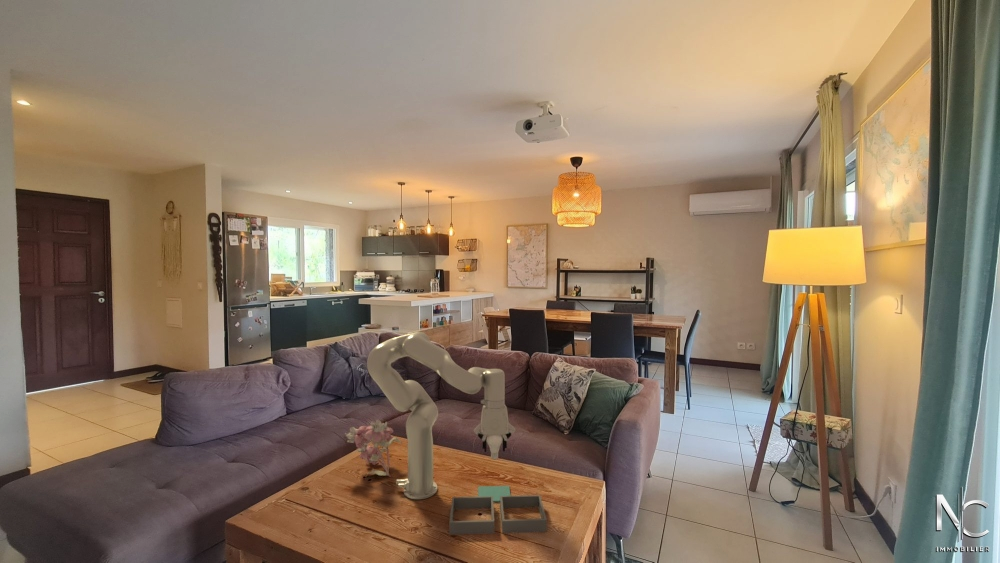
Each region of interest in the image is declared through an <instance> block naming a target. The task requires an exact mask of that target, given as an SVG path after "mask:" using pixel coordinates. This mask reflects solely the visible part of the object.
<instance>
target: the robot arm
mask: <svg viewBox="0 0 1000 563" xmlns="http://www.w3.org/2000/svg"><path fill="white" fill-rule="evenodd" d="M405 357H409V358H410V359H413V360H414V361H417V362H418V363H420V364H421V365H423V366H425V367H428V368H429V369H430V370H433V371H435V372H436V373H437V375H439V377H441V378H442V379H443V381H445V382H446V383H447V384H448V385H450V386H452V387H454V388H455V389H457V390H459V391H461V392H463V393H466V394H469V395H474V394H477V393H478V392H480V391H481V389H482V387H483V388H484V398H483V399H480V404H482V409H481V415H480V416H481V417H480V423H478V425H476V427H475V428H474V429H473V432H474V434H475V435H477V437H478V438H479V439H480V440H481V441H482V450H484V451H483V452H484V453H486V452H487V442H486V437H487V435H502V436H503V442H502V451H503V452H506V449H507V448H508V446H507V445H508V443H507V442H508V439H510V437H511V436H512V435H513V434H514V433H515V432H516V427H514V426H513V425H512V424H511V423H510V422H509V415H508V413H509V412H508V406H506V402H505V400H506V397H505V396H506V394H505V391H506V388H505V385H506V384H505V383H506V382H505V380H506V378H505V377H506V376H505V372H504V370H502V369H501V368H484V367H479V366H473V367H470V368H469V369H467V370H466V369H464V368H463V367H461V366H460V365H458V363H456V362H455V361H454V360H453V359H452V357H451V355H450V353H449V352H448V350H446V349H445V348H442V347H441V346H439V345H437V344H435V343H433V342H431V339H430V337H429V335H428V334H426V332H423V331H415V332H412V333H407V334H404V335H400V336H397V337H392V338H390V339H387V340H385V341H383V342H381V343H379V344H378V345H376V346H375V347H373V348H372V350H370V352H369V354H368V357H367V362H366V369H367V372H368V374H369V375H370V377H371V379H373V381H374V382H375V383H376V384H377V385H378V387H379V389H380V390H381V391H382V393H383V395H385V397H386V398H387V399H388V401H389V402H390V404H391V405H392V406H393V407H394V409H395V410H397V411H398V412H402V413H404V412H408V411H409V410H410V411H411V413H410V414H409V415H408V416H407V419H406V422H405V433H406V438H407V478H404V479H403V478H402V479H401V478H400V479H399V478H398V479H397V478H396V482H395V483H396V484H395V485H396V486H397V485H398V488H403V494H404V496H405V497H407V498H408V499H411V500H425V499H428V498H430V497H432V496H434V495H435V494H436V493H437V491H438V485H437V483H436V482H435V481H434V440H433V439H434V438H433V431H432V430H433V427H434V424H435V423H436V421H437V419H438V417H439V409H438V406H437V405H436V403H435V402H434V400H433V399H432V398H431V396H430V395H429V394H428V393H427V391H426V390H425V389H424V387H423V386H422V385H421V384H420V383H419V382H417V381H416V380H413V379H408V380H407V379H406V380H404V379H403V377H402V376H401V374H400V372H398V371H397V370H396V369H394V368H393V366H392V363H394V362H395V361H397V360H398V359H401V358H405ZM480 431H481V432H480Z"/></svg>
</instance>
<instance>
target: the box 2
mask: <svg viewBox="0 0 1000 563" xmlns="http://www.w3.org/2000/svg"><path fill="white" fill-rule="evenodd" d="M513 508H514V509H515V508H517V509H518V508H538V510H539V515H540V518H522V519H520V518H519V519H515V518H514V519H505V512H504V509H513ZM499 509H500V522H501V531H502V532H501V533H502V534H519V533H520V534H521V533H522V534H524V533H525V534H526V533H547V532H548V531H547V530H548V520H547V515H546V511H545V509H544V504H543V500H542V497H541V495H540V494H532V495H531V494H528V495H527V494H526V495H525V494H524V495H510V496H500V502H499Z"/></svg>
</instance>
